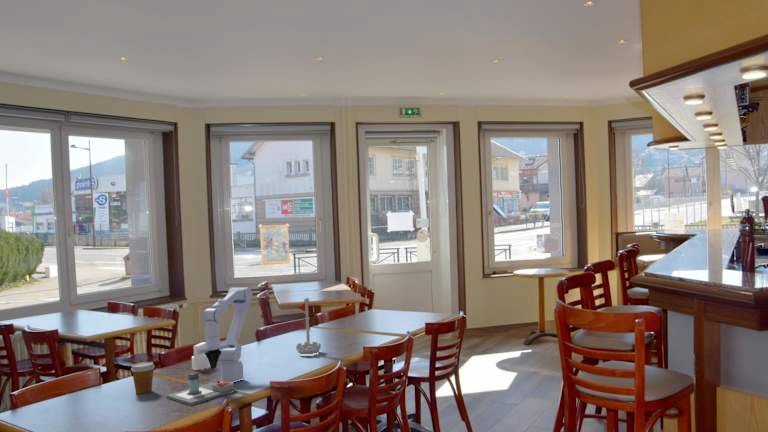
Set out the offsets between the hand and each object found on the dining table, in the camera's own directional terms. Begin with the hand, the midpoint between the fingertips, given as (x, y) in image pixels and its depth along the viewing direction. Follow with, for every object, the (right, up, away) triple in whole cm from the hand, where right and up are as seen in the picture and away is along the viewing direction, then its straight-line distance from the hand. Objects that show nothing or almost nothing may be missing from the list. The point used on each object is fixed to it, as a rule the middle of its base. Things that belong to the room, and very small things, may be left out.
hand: (213, 367), depth 252 cm
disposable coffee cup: (-31, -11, +2) cm, 33 cm away
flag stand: (+33, -8, +59) cm, 68 cm away
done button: (+5, -8, -3) cm, 10 cm away
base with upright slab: (-17, -10, +39) cm, 44 cm away
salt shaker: (-6, -9, -7) cm, 13 cm away
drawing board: (-3, -10, -5) cm, 12 cm away
